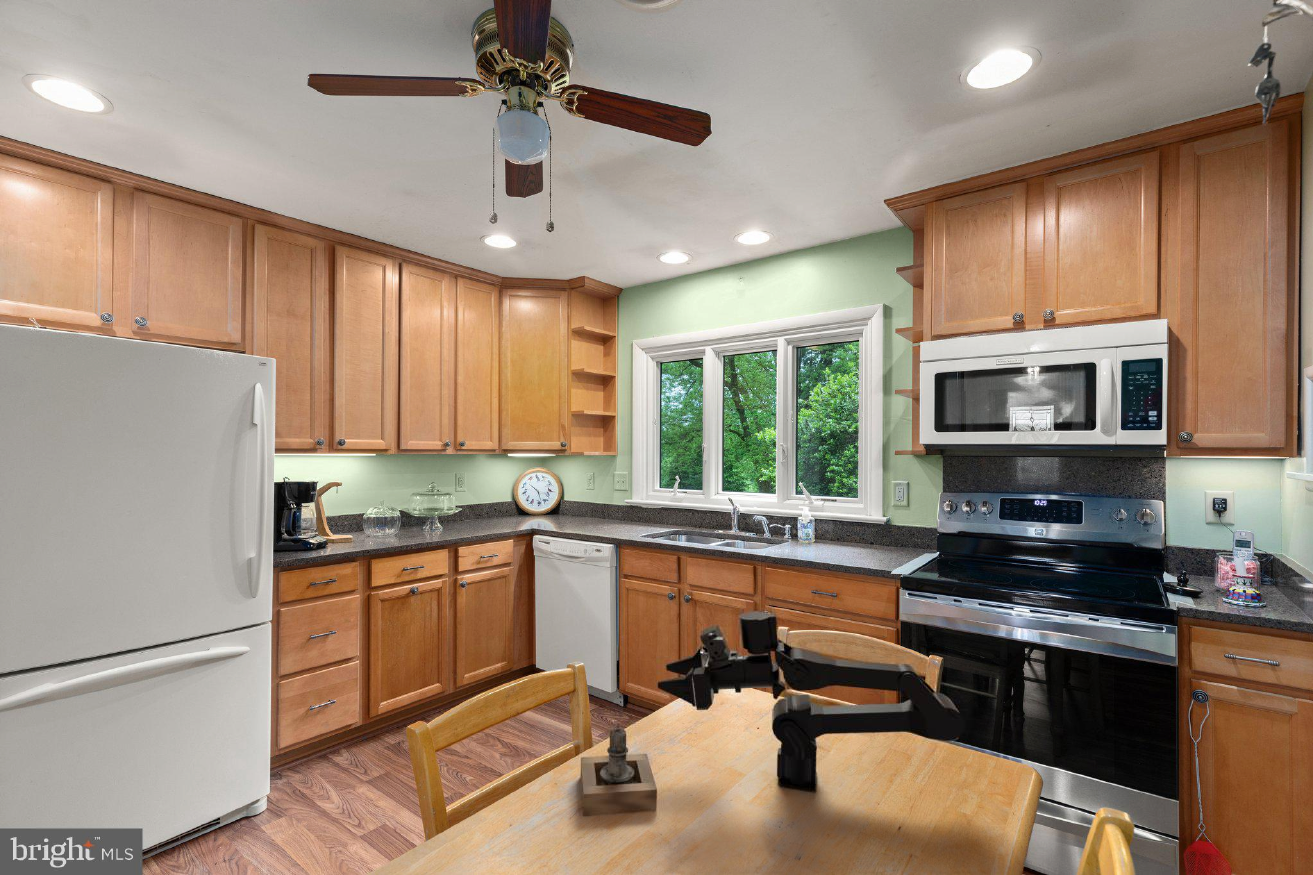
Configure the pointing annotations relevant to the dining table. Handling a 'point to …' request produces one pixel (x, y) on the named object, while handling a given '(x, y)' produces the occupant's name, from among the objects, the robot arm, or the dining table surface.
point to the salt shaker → (617, 760)
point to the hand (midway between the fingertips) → (662, 675)
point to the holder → (617, 787)
